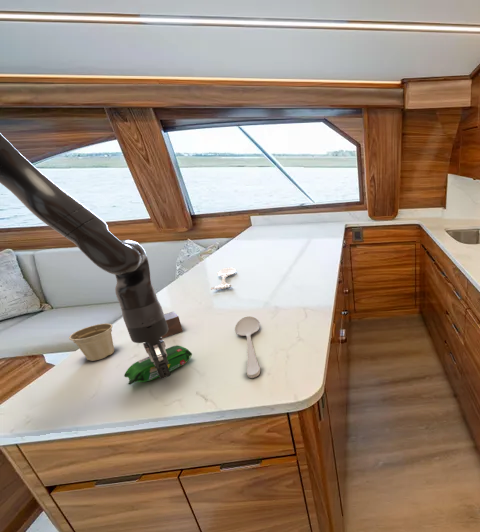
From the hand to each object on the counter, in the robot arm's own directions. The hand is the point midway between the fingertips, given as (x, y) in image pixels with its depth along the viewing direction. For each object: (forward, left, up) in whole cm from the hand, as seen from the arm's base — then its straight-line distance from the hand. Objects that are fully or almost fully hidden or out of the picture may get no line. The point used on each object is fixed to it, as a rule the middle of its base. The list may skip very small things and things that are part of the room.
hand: (165, 376), depth 80 cm
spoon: (+22, -1, -2) cm, 22 cm away
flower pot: (-11, +31, -2) cm, 33 cm away
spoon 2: (+38, +69, -2) cm, 78 cm away
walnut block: (+7, +31, -2) cm, 32 cm away
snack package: (0, +6, -2) cm, 6 cm away
